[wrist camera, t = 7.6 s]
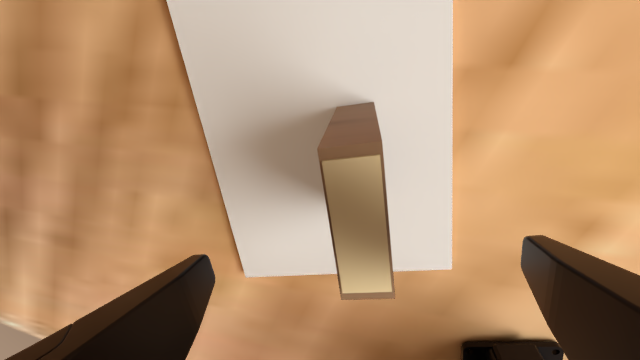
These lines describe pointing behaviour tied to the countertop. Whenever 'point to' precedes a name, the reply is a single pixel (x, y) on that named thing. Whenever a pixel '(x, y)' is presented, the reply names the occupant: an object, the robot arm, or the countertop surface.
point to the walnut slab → (357, 202)
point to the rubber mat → (322, 118)
